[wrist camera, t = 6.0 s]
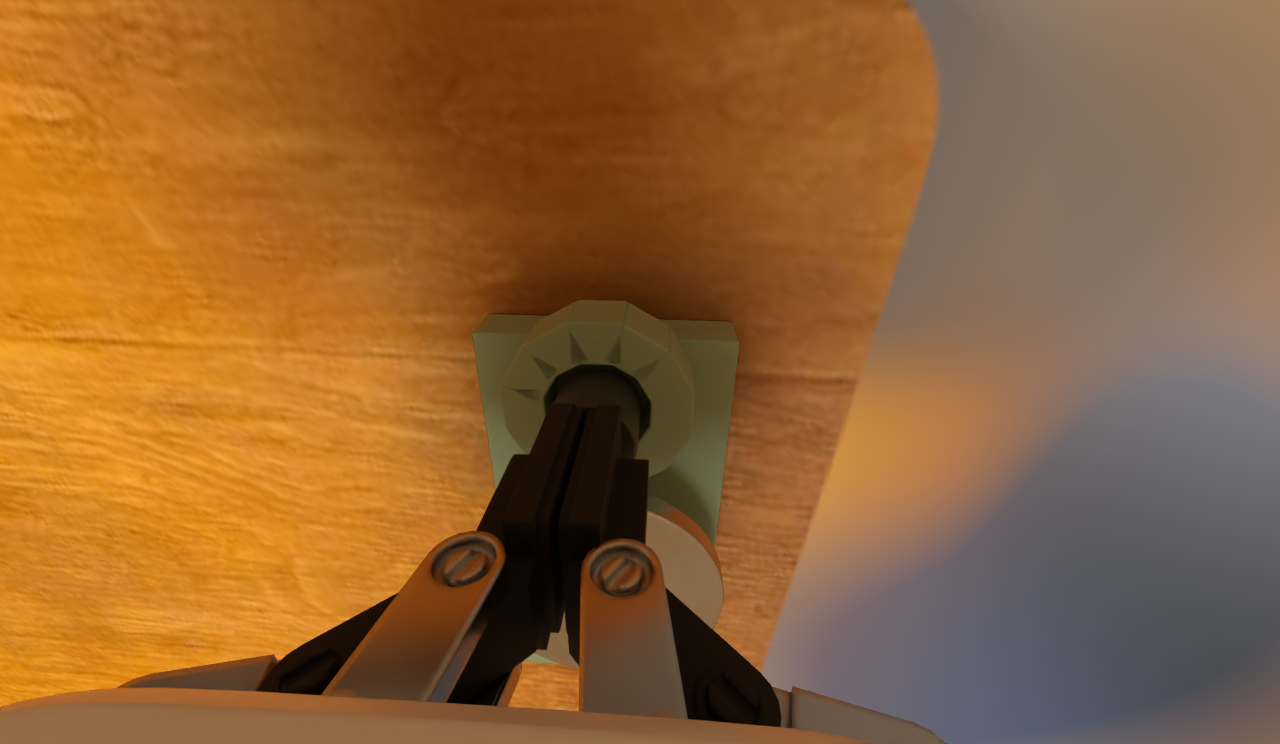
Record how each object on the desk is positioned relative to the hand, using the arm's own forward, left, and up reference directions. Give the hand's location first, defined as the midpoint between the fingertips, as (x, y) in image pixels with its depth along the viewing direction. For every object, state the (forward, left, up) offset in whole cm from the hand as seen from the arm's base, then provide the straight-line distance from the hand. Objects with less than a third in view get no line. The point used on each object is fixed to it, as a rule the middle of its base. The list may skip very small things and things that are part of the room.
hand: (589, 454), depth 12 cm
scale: (0, +6, -5) cm, 8 cm away
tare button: (0, 0, -2) cm, 2 cm away
